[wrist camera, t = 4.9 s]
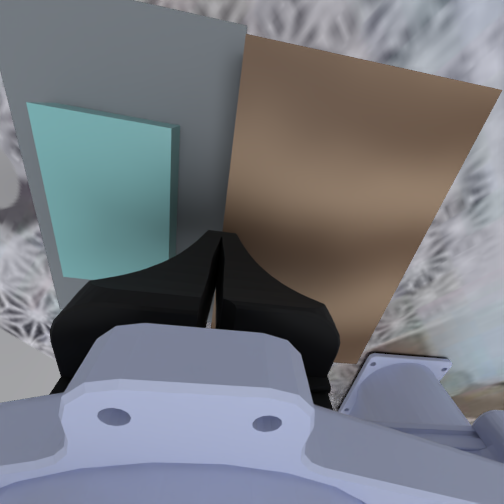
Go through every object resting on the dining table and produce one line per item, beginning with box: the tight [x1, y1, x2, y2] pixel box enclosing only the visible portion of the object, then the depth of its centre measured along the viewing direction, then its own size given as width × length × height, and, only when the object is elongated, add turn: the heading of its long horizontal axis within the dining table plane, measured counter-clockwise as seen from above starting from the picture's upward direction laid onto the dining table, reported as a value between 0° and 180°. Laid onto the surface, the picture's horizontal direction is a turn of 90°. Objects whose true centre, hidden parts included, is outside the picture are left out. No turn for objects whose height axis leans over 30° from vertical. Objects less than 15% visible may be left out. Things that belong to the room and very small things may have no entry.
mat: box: [0, 0, 247, 322], centre depth 15 cm, size 18×11×1 cm, turn 171°
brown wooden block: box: [211, 34, 502, 364], centre depth 15 cm, size 16×10×4 cm, turn 171°
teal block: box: [26, 102, 180, 280], centre depth 14 cm, size 9×6×2 cm, turn 170°
